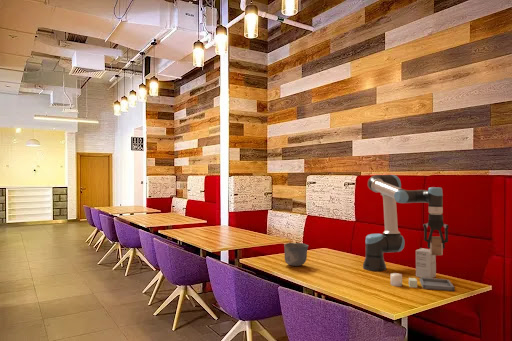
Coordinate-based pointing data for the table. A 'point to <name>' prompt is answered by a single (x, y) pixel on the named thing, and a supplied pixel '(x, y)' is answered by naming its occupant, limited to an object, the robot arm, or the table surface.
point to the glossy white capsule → (396, 279)
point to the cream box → (413, 282)
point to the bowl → (295, 253)
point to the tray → (437, 284)
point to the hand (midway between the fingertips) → (436, 253)
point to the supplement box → (425, 264)
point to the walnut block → (436, 245)
